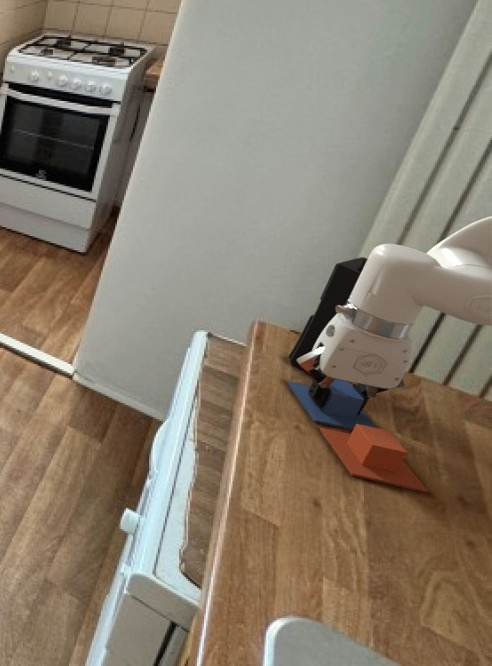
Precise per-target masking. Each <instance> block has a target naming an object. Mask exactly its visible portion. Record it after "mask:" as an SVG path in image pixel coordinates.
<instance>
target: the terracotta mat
mask: <svg viewBox="0 0 492 666" xmlns="http://www.w3.org/2000/svg"><path fill="white" fill-rule="evenodd" d="M319 431H320V432H321V434H322V435H323V437H324V438H325V440H326V441H327V443H328V444H329V445H330V447H331V448H332V449H333V451H334V452H335V454H336V455H337V456H338V458H339V460H340V461H341V462H342V464H343V465H344V466H345V468H346V470H347V471H348V473H349V474H350V475H351V476H353V477H357V478H361V479H365V480H370V481H374V482H378V483H382V484H387V485H391V486H396V487H398V488H399V487H401V488H404V489H409V490H413V491H418V492H422V493H426V494H427V493H428V492H429V490H428V489H427V488H426V486H425V485H424V484H423V483H422V482H421V481H420V480H419V478H418V477H417V475H416V474H415V473H414V472H413V471H412V469H411V468H410V467H409V466H408V464H407V463H406V462H405V461H404V460H403V462H402V463H401V465H400V467H399V469H398V470H397V472H396V473H395V472H391V471H386V470H382V469H378V468H373V467H369V466H365V465H362V464H361V463H360V461H359V460H358V459H357V457H356V456H355V454H354V453H353V452H352V450H351V449H350V448H349V446H348V445H347V441H348V439H349V437H350V435H351V433H348V432H344V431H339V430H334V429H330V428H325V427H319Z"/></svg>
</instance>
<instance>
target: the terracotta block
mask: <svg viewBox="0 0 492 666" xmlns="http://www.w3.org/2000/svg"><path fill="white" fill-rule="evenodd" d="M350 434H351V435H350V437H349V439H348V441H347V445H348V446H349V448H350V449H351V450H352V452H353V453H354V454H355V456H356V457H357V459H358V460H359V461H360V463H361V464H362V465H365V466H369V467H373V468H378V469H382V470H386V471H391V472H395V473H396V472H397V470H398V469H399V467H400V465H401V463H402V462H403V461H404V460H405V458H406V456H407V455H408V452H407V450H406V449H405V447H403V445H402V444H401V442H399V440H398V439H397V438H396V436H395V435H394V434H393V433H392V432H391V430H387V429H383V428H377V427H376V428H374V427H369V426H365V425H360V424H356V426H355V428H354V430H351V433H350Z"/></svg>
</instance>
